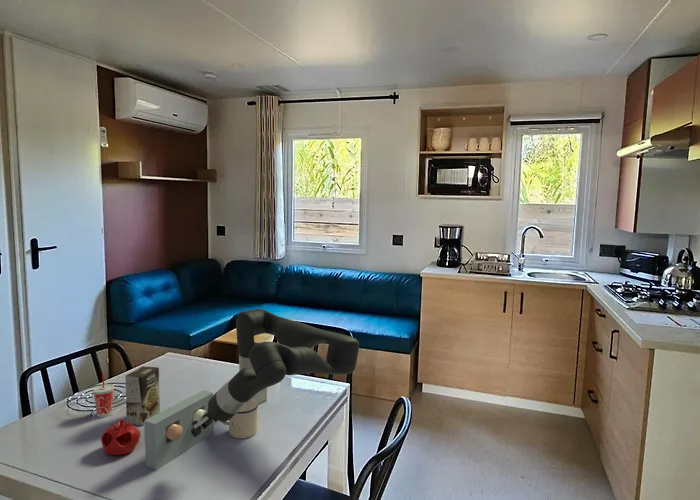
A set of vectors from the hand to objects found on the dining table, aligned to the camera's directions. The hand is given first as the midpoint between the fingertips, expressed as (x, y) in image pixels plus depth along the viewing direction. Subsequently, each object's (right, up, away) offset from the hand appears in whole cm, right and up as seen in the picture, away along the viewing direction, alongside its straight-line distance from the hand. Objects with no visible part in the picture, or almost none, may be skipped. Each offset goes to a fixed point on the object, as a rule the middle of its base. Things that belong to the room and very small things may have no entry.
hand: (194, 433), depth 122 cm
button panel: (-7, -8, +10) cm, 14 cm away
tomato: (-24, -8, +8) cm, 27 cm away
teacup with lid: (+7, -8, +19) cm, 22 cm away
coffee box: (-26, -6, +27) cm, 38 cm away
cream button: (-5, -2, +13) cm, 14 cm away
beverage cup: (-40, -6, +29) cm, 50 cm away
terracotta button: (-9, -3, +4) cm, 10 cm away
